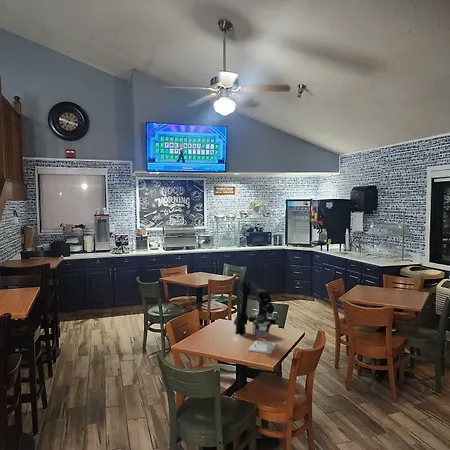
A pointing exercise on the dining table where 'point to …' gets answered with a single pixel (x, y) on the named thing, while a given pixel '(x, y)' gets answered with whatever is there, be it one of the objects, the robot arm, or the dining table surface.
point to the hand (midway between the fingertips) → (262, 332)
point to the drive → (262, 331)
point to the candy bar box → (259, 323)
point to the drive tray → (262, 347)
